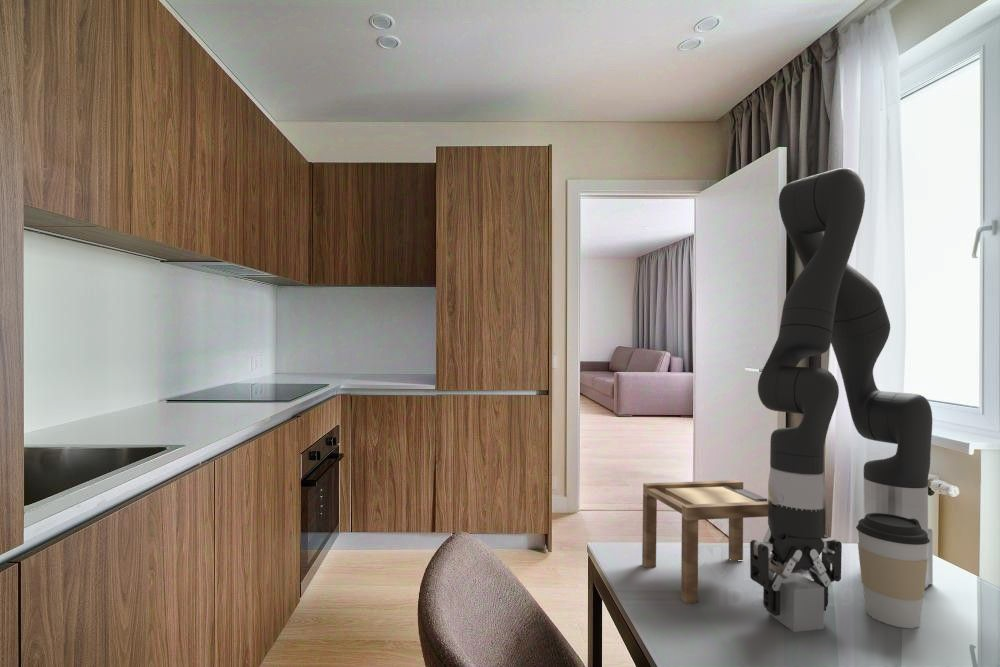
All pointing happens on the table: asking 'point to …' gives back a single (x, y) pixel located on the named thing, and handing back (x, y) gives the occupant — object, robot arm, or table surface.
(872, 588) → the coffee cup
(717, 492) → the trapdoor
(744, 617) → the table surface
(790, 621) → the grey block
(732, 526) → the frame
